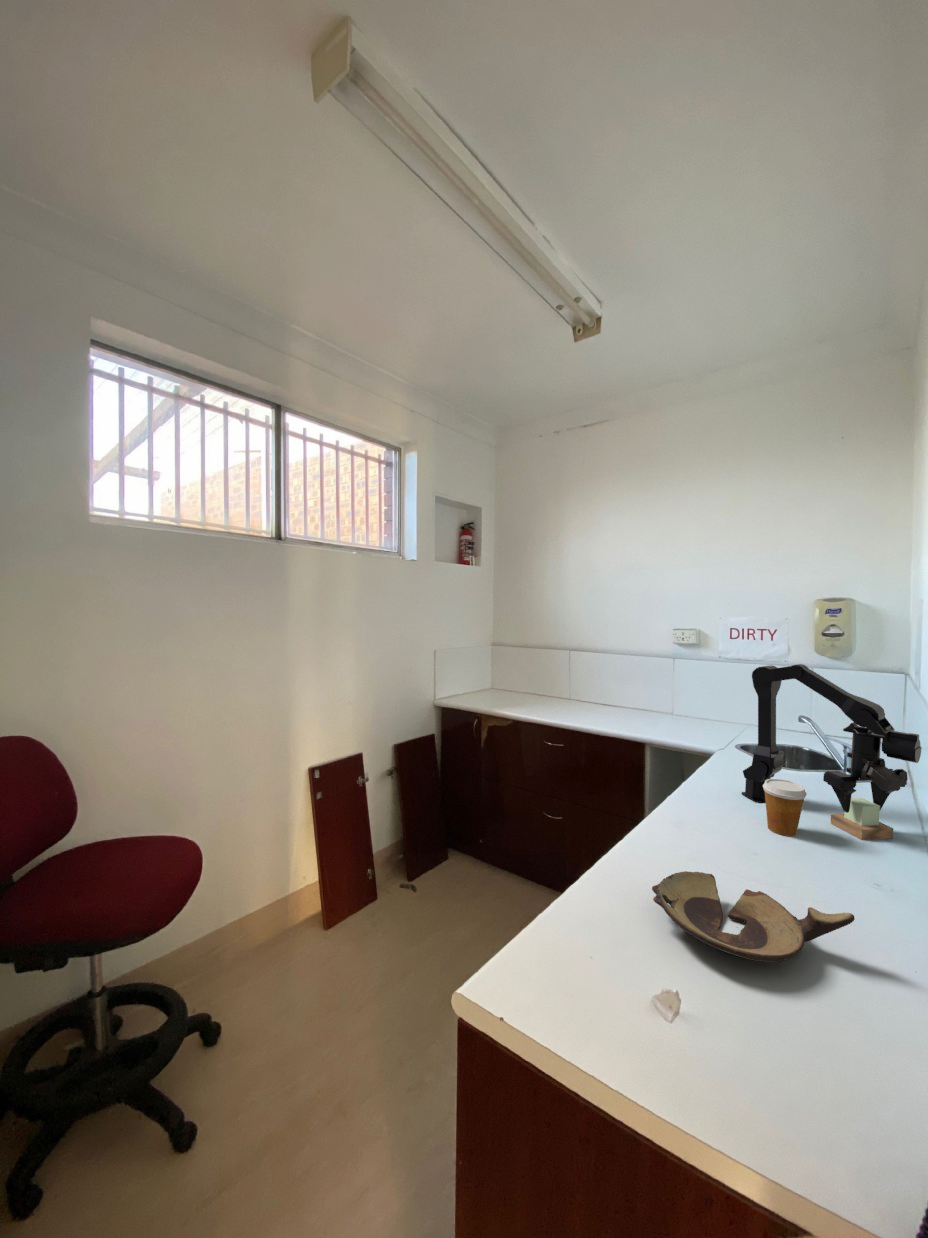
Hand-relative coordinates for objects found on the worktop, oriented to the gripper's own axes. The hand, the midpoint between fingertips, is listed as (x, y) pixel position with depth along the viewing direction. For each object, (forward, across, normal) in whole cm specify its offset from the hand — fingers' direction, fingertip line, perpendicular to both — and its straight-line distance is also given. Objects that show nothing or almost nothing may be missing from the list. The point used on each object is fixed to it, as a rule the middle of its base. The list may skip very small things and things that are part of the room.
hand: (861, 811), depth 131 cm
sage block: (+3, 0, 0) cm, 3 cm away
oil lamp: (+5, -60, -35) cm, 70 cm away
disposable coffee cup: (+5, -21, +2) cm, 22 cm away
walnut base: (+5, 0, 0) cm, 5 cm away
